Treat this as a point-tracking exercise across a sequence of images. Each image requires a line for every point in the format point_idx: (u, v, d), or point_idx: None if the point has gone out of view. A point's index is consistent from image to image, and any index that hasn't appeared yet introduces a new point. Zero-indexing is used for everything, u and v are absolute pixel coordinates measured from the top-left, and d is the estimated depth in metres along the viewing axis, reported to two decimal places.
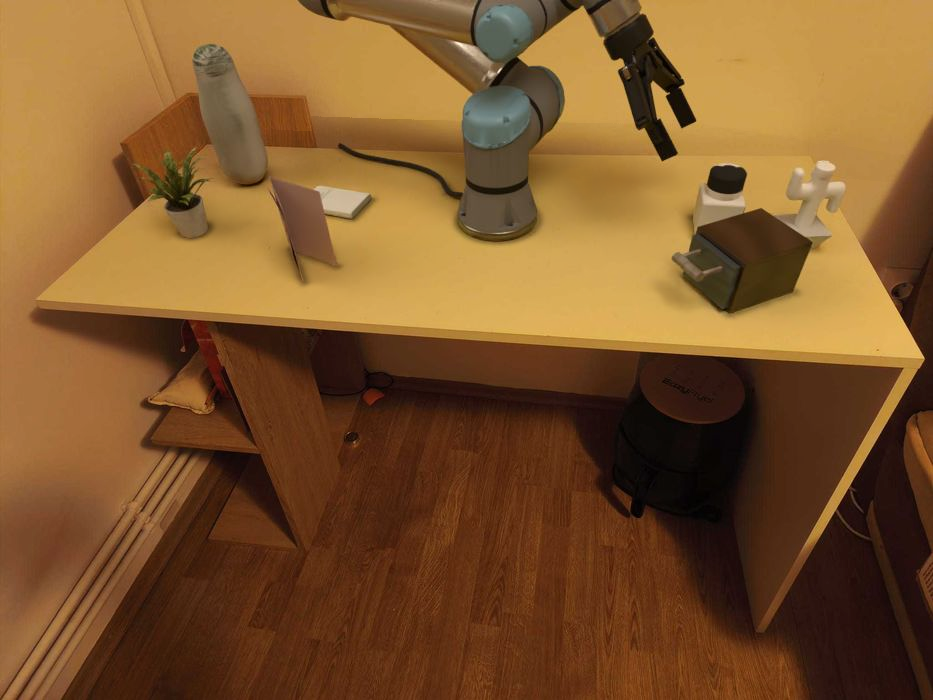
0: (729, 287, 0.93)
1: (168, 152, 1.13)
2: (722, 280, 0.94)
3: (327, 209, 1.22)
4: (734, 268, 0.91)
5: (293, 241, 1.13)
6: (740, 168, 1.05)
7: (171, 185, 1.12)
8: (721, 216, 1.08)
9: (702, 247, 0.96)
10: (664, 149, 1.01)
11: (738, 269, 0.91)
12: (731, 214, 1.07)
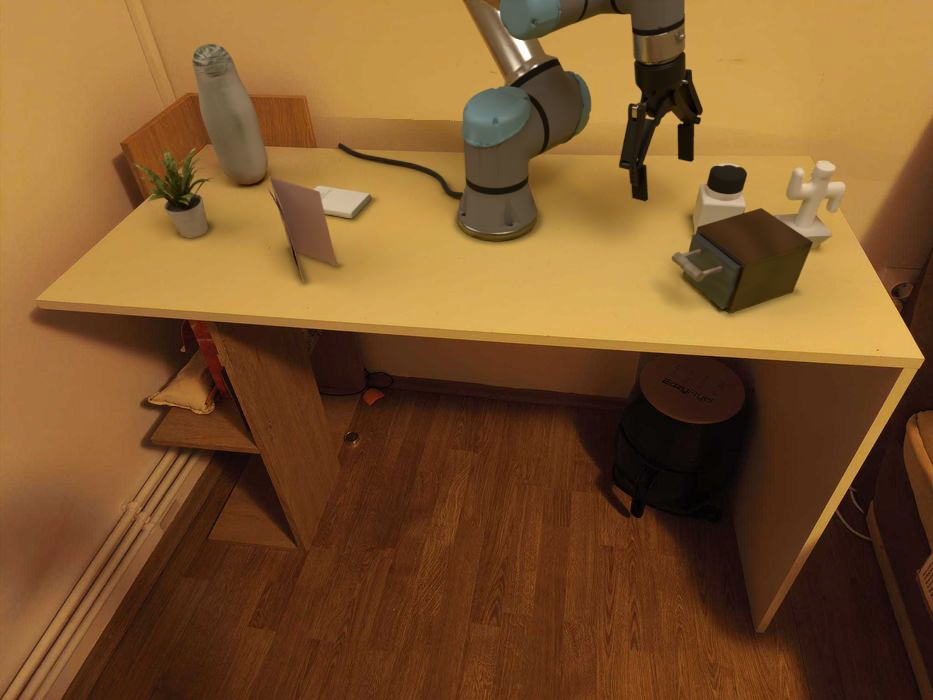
0: (729, 287, 0.93)
1: (168, 152, 1.13)
2: (722, 280, 0.94)
3: (327, 209, 1.22)
4: (734, 268, 0.91)
5: (293, 241, 1.13)
6: (740, 168, 1.05)
7: (171, 185, 1.12)
8: (721, 216, 1.08)
9: (702, 247, 0.96)
10: (638, 191, 1.04)
11: (738, 269, 0.91)
12: (731, 214, 1.07)
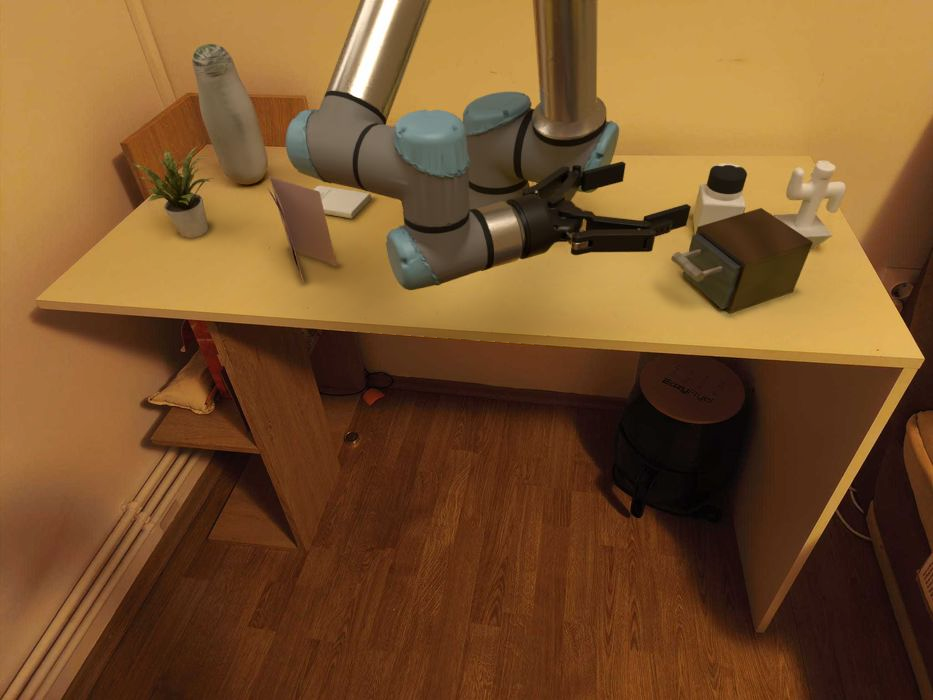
0: (729, 287, 0.93)
1: (168, 152, 1.13)
2: (722, 280, 0.94)
3: (327, 209, 1.22)
4: (734, 268, 0.91)
5: (293, 241, 1.13)
6: (740, 168, 1.05)
7: (171, 185, 1.12)
8: (721, 216, 1.08)
9: (702, 247, 0.96)
10: None
11: (738, 269, 0.91)
12: (731, 214, 1.07)
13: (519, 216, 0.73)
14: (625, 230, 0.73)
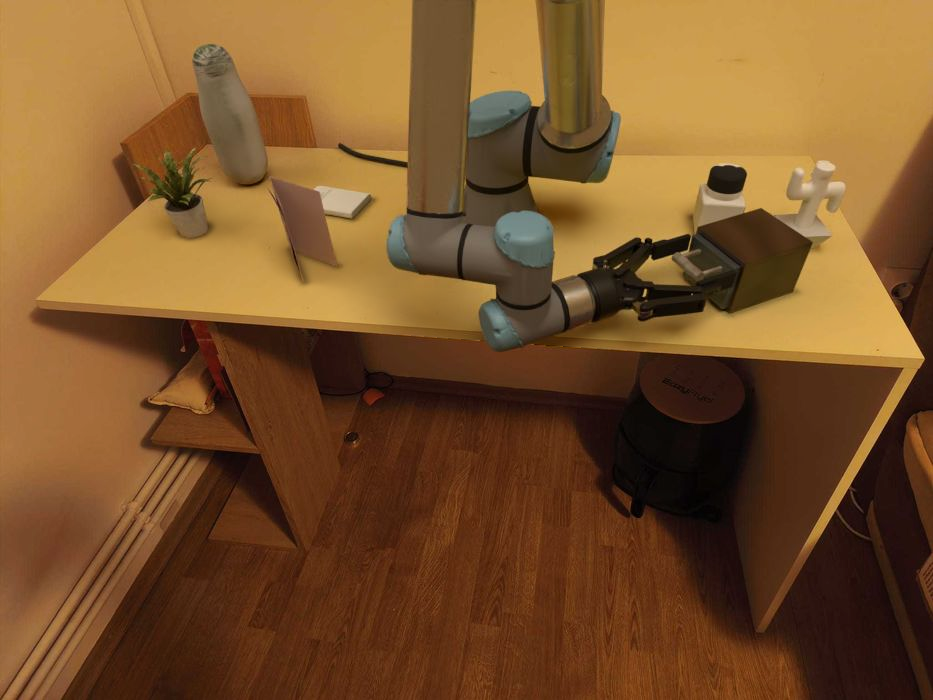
0: None
1: (168, 152, 1.13)
2: None
3: (327, 209, 1.22)
4: (734, 268, 0.91)
5: (293, 241, 1.13)
6: (740, 168, 1.05)
7: (171, 185, 1.12)
8: (721, 216, 1.08)
9: (702, 247, 0.96)
10: None
11: (738, 269, 0.91)
12: (731, 214, 1.07)
13: (591, 290, 0.86)
14: (681, 297, 0.87)
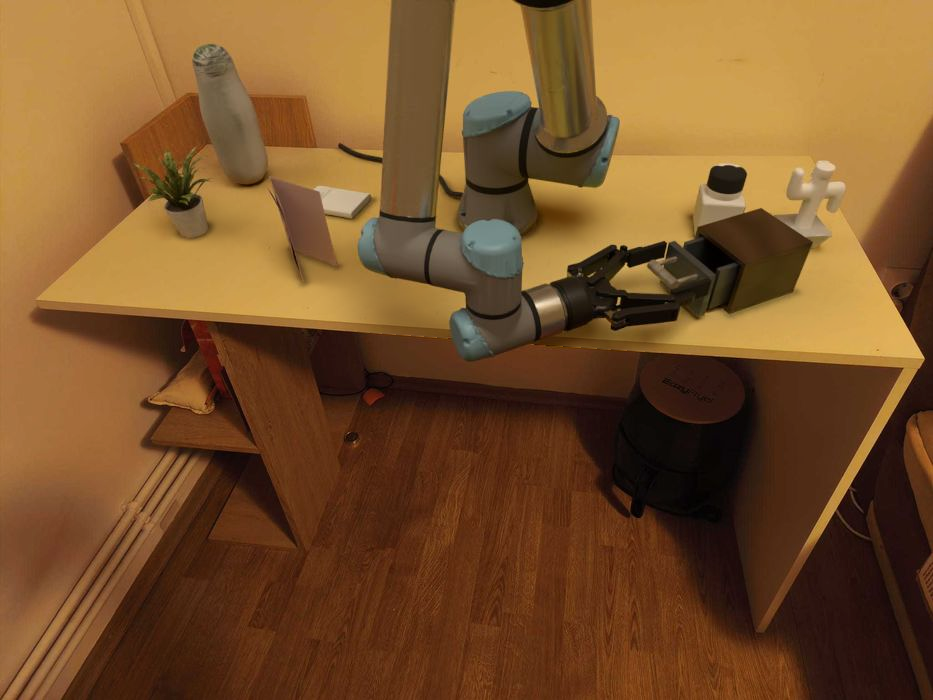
0: None
1: (168, 152, 1.13)
2: None
3: (327, 209, 1.22)
4: (709, 276, 0.89)
5: (293, 241, 1.13)
6: (740, 168, 1.05)
7: (171, 185, 1.12)
8: (721, 216, 1.08)
9: (678, 255, 0.94)
10: None
11: (713, 277, 0.90)
12: (731, 214, 1.07)
13: (563, 298, 0.85)
14: (654, 306, 0.85)
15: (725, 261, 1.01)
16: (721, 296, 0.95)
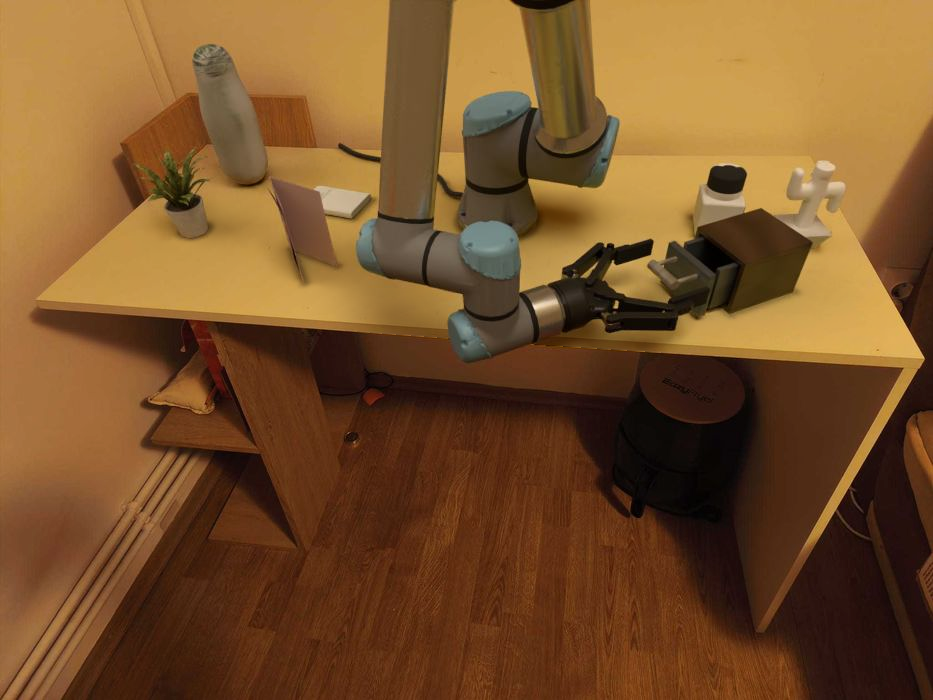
0: None
1: (168, 152, 1.13)
2: (698, 288, 0.92)
3: (327, 209, 1.22)
4: (709, 276, 0.89)
5: (293, 241, 1.13)
6: (740, 168, 1.05)
7: (171, 185, 1.12)
8: (721, 216, 1.08)
9: (678, 255, 0.94)
10: None
11: (713, 277, 0.90)
12: (731, 214, 1.07)
13: (561, 300, 0.85)
14: (652, 313, 0.85)
15: (725, 261, 1.01)
16: (721, 296, 0.95)
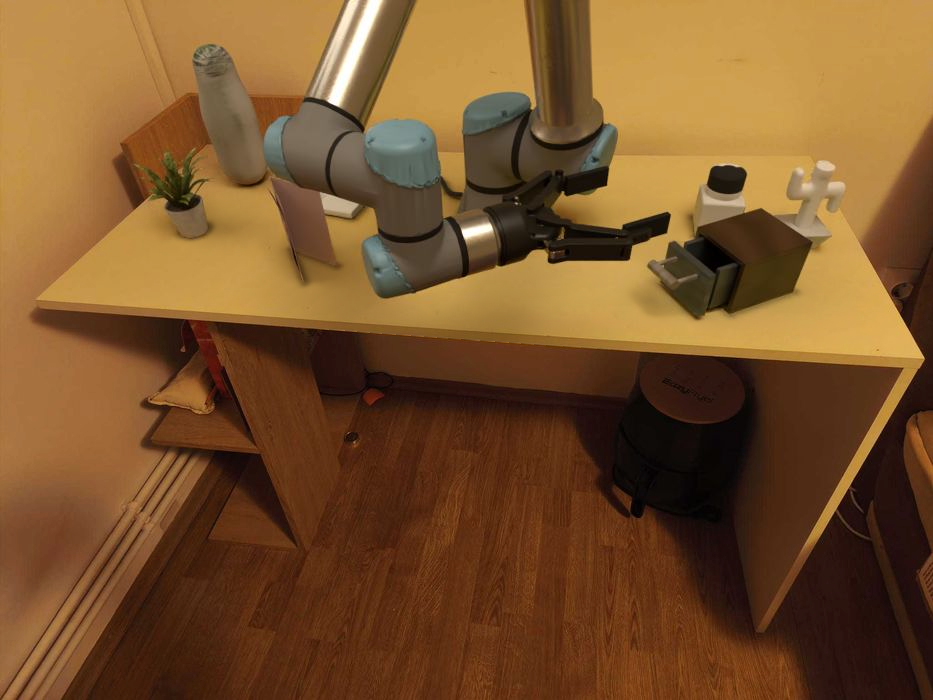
0: (704, 295, 0.92)
1: (168, 152, 1.13)
2: (698, 288, 0.92)
3: (327, 209, 1.22)
4: (709, 276, 0.89)
5: (293, 241, 1.13)
6: (740, 168, 1.05)
7: (171, 185, 1.12)
8: (721, 216, 1.08)
9: (678, 255, 0.94)
10: None
11: (713, 277, 0.90)
12: (731, 214, 1.07)
13: (495, 224, 0.72)
14: (602, 239, 0.72)
15: (725, 261, 1.01)
16: (721, 296, 0.95)
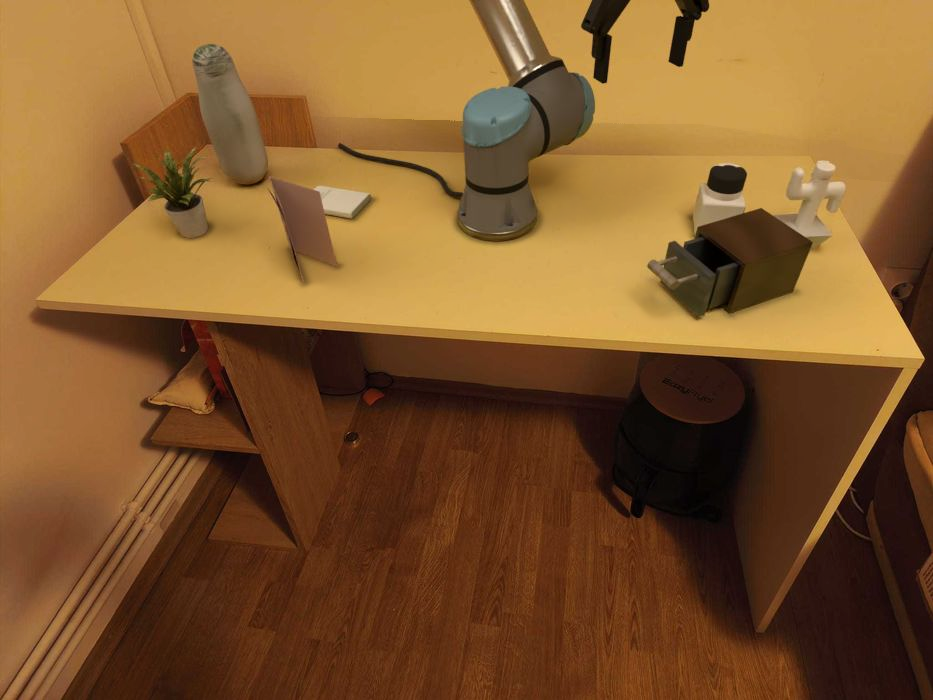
0: (704, 295, 0.92)
1: (168, 152, 1.13)
2: (698, 288, 0.92)
3: (327, 209, 1.22)
4: (709, 276, 0.89)
5: (293, 241, 1.13)
6: (740, 168, 1.05)
7: (171, 185, 1.12)
8: (721, 216, 1.08)
9: (678, 255, 0.94)
10: (598, 68, 0.91)
11: (713, 277, 0.90)
12: (731, 214, 1.07)
13: None
14: None
15: (725, 261, 1.01)
16: (721, 296, 0.95)
